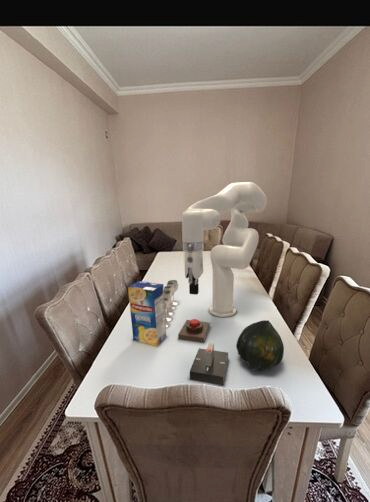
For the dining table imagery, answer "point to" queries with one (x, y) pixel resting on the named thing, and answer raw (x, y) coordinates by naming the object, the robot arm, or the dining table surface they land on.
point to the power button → (194, 322)
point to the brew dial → (209, 354)
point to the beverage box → (147, 312)
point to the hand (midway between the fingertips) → (194, 293)
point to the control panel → (209, 367)
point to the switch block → (194, 332)
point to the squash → (260, 346)
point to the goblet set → (169, 298)
